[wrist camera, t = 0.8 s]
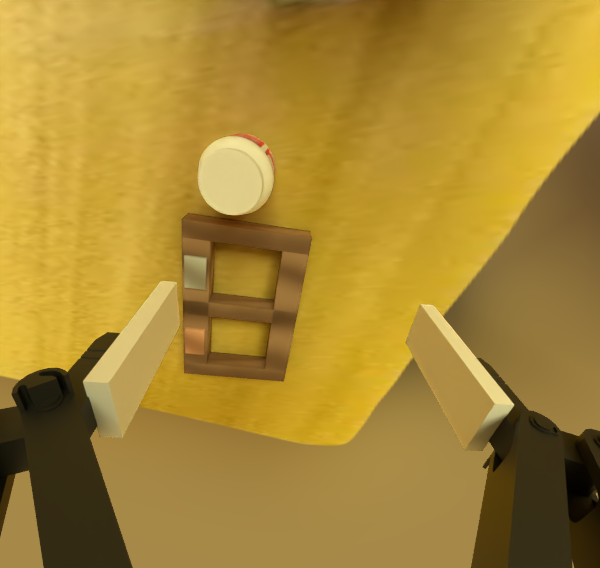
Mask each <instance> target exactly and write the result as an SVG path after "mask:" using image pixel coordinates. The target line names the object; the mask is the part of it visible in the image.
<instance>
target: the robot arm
mask: <svg viewBox="0 0 600 568" xmlns="http://www.w3.org/2000/svg"><path fill="white" fill-rule="evenodd" d="M179 327H180V317H179V304H178V292H177V282H169V281H161V282H160V283H159V284H158V286H157V287H156V288H155V289H154V291H153V292H152V293H151V295H150V296H149V297H148V298H147V300H146V301H145V302H144V304H143V305H142V306H141V307H140V309H139V310H138V311H137V313H136V314H135V315H134V316H133V318H132V319H131V320H130V322H129V323H128V324H127V325H126V327H125V328H124V329H123V330H122V332H121V333H109V332H107V333H106V334H104V335H103V336H101V337H99V338H98V339H96V340H95V341H94V342H93V343H92V345H91V346H90V347H89V348H88V349H87V351H85V353H84V354H83V355H82V356H81V358H80V359H79V360H78V361H77V362H76V363H75V364H74V365H73V366H72V368H71V369H70V370H69V371H68V372H66V371H65V370H63V369H60V368H47V369H43V370H39V371H36V372H34V373H32V374H29V375H27V376H26V377H24V378H23V379H21V380H20V381H19V382H18V383H17V384H16V385H15V386H14V388H13V391H12V396H13V399H14V401H15V402H16V405H17V406H16V407H10V408H5V409H0V535H1V531H2V527H3V523H4V519H5V515H6V511H7V507H8V503H9V499H10V494H11V490H12V486H13V482H14V478H15V474H16V473H20V472H23V471H28V470H29V472H30V478H31V486H32V492H33V499H34V505H35V512H36V519H37V526H38V532H39V538H40V546H41V552H42V559H43V566H44V568H133V567H132V564H131V561H130V558H129V555H128V552H127V550H126V546H125V543H124V540H123V537H122V534H121V531H120V528H119V525H118V522H117V519H116V516H115V513H114V510H113V507H112V504H111V501H110V498H109V495H108V492H107V489H106V486H105V482H104V480H103V476H102V473H101V471H100V467H99V464H98V461H97V458H96V455H95V452H94V449H93V446H92V443H91V440H90V437H91V435H92V433H93V432H94V430H95V429H96V427H97V429H98V432H99V436H100V437H114V438H115V437H116V438H122V437H123V436H124V434H125V432H126V430H127V428H128V426H129V424H130V422H131V420H132V418H133V416H134V414H135V412H136V411H137V409H138V407H139V405H140V403H141V401H142V399H143V397H144V395H145V393H146V391H147V389H148V387H149V385H150V383H151V381H152V379H153V377H154V376H155V374H156V372H157V370H158V368H159V366H160V364H161V362H162V360H163V358H164V356H165V354H166V352H167V350H168V348H169V346H170V344H171V342H172V341H173V339H174V337H175V335H176V333H177V331H178V329H179ZM406 344H407V346H408V348H409V350H410V352H411V353H412V355H413V357H414V359H415V361H416V362H417V364H418V366H419V368H420V370H421V371H422V373H423V375H424V377H425V379H426V381H427V382H428V384H429V386H430V388H431V390H432V392H433V393H434V395H435V397H436V399H437V401H438V403H439V404H440V406H441V408H442V410H443V411H444V414H445V415H446V417H447V419H448V421H449V422H450V424H451V426H452V428H453V430H454V432H455V433H456V435H457V437H458V439H459V441H460V443H461V444H462V446H463V448H464V450H471V451H473V450H474V451H483V449H484V448H485V446H486V445H487V443H488V442H490V443H491V445H492V447H493V448H494V451H493V453H492V454H491V455H490V457H489V458H488V459H487V461H486V462H485V464H484V466H483V468H485V469H486V468H487V466H488V465H489V468H488V474H487V480H486V486H485V491H484V497H483V502H482V508H481V514H480V520H479V526H478V531H477V537H476V542H475V548H474V554H473V559H472V566H471V568H572V561H573V564H574V568H600V431H597V430H593V429H586V430H585V431H584V432H583V433H582V434H581V435H580V436H576V435H573V434H570V433H566V432H563V431H560V430H559V428H558V427H557V426H556V425H555V424H554V423H553V422H552V421H551V420H550V419H548V418H547V417H545V416H543V415H541V414H539V413H537V412H534V411H529V410H528V409H527V408H526V407H525V406H524V404H523V403H522V402H521V401H520V400H519V399H518V398H517V396H516V395H515V394H514V393H513V392H512V390H511V389H510V388H509V387H508V386H507V385H506V384H505V382H504V381H503V380H502V378H501V377H499V375H498V374H497V373H496V371H495V370H494V369H493V368H492V367H491V366H490V365H489V364H488V363H486V362H485V361H484V360H482V359H481V358H476V357H475V356H474V355H473V353H472V352H471V351H470V350H469V348H468V347H467V346H466V345H465V343H464V342H463V341H462V340H461V339H460V337H459V336H458V335H457V334H456V333H455V331H454V330H453V329H452V328H451V326H450V325H449V324H448V323H447V321H446V320H445V319H444V318H443V316H442V315H441V314H440V313H439V311H438V310H437V309H436V308H435V307H434V305H427V304H420V306H419V309H418V311H417V314H416V316H415V319H414V322H413V324H412V327H411V329H410V332H409V335H408V337H407V340H406ZM596 493H598V497H599V498H597V496H596Z"/></svg>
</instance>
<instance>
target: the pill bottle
mask: <svg viewBox="0 0 600 568" xmlns="http://www.w3.org/2000/svg"><path fill="white" fill-rule="evenodd" d="M274 176H275V161H274V157H273V155H272V152H271V151H270V149H269V148H268V146H267V145H266V144H265V143H264V142H263V141H262V140H260V139H259V138H257V137H255V136H253V135H249V134H236V135H231V136H227V137H223V138H220V139H218V140H216V141H214V142H213V143H211V144H210V145H209V146H208V147H207V148H206V150H205V151H204V152H203V154H202V156H201V158H200V161H199V166H198V186H199V190H200V192H201V195H202V197H203V198H204V200H205V201H206V202H207V204H208V205H209V206H211V207H212V208H213V209H215V210H216V211H218V212H220V213H223V214H226V215H244V214H249V213H252V212H254V211H256V210H258V209H259V208H260V207H262V206H263V205H264V204H265V202H266V201H267V200H268V198H269V196H270V194H271V192H272V189H273V184H274Z"/></svg>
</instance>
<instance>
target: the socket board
mask: <svg viewBox="0 0 600 568" xmlns="http://www.w3.org/2000/svg"><path fill="white" fill-rule="evenodd" d="M311 241H312V237H311V233H310V231H304V230H297V229H291V228H284V227H277V226H270V225H264V224H257V223H250V222H244V221H237V220H230V219H224V218H217V217H210V216H204V215H197V214H190V213H188V214H187V215H186V216H185V217H184V218H183V219H182V268H183V329H184V373H190V374H201V375H213V376H225V377H237V378H249V379H261V380H273V381H284V378H285V373H286V368H287V362H288V357H289V352H290V347H291V342H292V337H293V332H294V327H295V322H296V317H297V312H298V307H299V302H300V297H301V292H302V287H303V281H304V276H305V271H306V266H307V261H308V256H309V251H310V246H311ZM215 242H219V243H226V244H233V245H241V246H248V247H255V248H262V249H269V250H276V251H282V252H281V258H280V265H279V272H278V278H277V285H276V291H275V298H274V300H270V299H262V298H253V297H245V296H236V295H228V294H219V293H213V273H214V246H215ZM212 317H218V318H227V319H237V320H246V321H255V322H264V323H271V325H270V331H269V338H268V345H267V351H266V357H258V356H248V355H237V354H226V353H216V352H211V326H212Z"/></svg>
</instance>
